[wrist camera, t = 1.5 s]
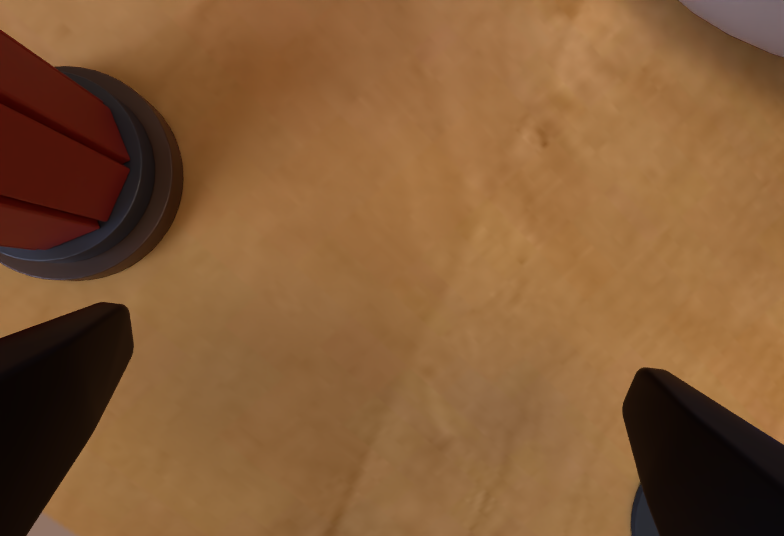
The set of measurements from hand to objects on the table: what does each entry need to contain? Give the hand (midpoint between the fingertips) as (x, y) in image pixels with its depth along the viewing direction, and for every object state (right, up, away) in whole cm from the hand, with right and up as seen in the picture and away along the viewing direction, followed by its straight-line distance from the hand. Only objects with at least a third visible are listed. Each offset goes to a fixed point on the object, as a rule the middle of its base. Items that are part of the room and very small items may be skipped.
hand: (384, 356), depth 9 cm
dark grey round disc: (-14, +6, +13) cm, 20 cm away
